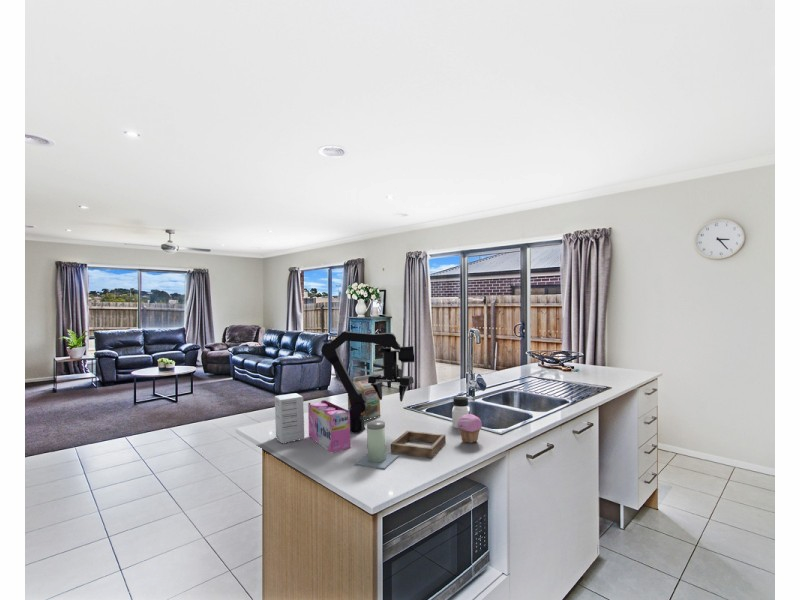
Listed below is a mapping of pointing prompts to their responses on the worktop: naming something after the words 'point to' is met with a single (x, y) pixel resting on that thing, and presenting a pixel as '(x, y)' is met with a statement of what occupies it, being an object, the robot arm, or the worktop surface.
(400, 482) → the worktop surface
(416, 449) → the walnut frame
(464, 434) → the cupcake
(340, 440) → the gum box
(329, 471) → the worktop surface
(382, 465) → the rubber mat
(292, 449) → the worktop surface
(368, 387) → the milk carton
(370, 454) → the plastic jar
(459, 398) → the medicine bottle
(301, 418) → the supplement box
